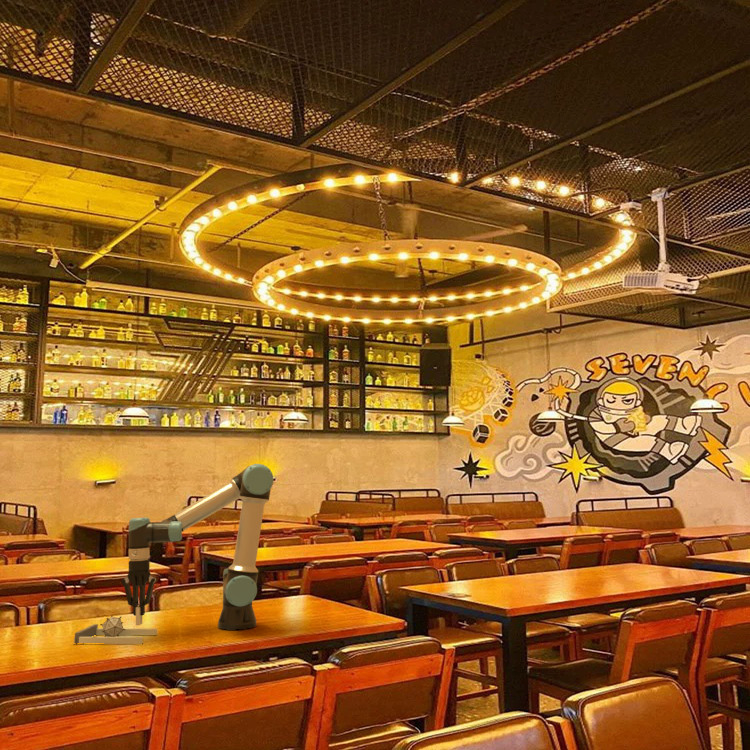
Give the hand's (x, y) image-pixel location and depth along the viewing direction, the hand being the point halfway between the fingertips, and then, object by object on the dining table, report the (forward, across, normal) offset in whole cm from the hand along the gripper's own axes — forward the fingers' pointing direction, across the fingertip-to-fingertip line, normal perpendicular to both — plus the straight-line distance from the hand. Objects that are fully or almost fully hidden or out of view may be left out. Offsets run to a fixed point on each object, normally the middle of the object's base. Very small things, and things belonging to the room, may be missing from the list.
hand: (139, 624), depth 275 cm
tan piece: (+5, -8, 0) cm, 10 cm away
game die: (+4, -8, +2) cm, 9 cm away
